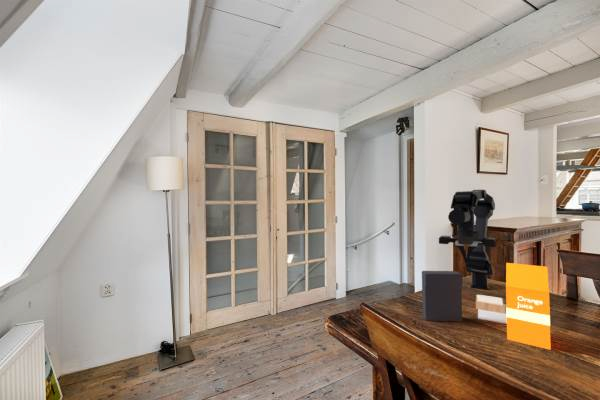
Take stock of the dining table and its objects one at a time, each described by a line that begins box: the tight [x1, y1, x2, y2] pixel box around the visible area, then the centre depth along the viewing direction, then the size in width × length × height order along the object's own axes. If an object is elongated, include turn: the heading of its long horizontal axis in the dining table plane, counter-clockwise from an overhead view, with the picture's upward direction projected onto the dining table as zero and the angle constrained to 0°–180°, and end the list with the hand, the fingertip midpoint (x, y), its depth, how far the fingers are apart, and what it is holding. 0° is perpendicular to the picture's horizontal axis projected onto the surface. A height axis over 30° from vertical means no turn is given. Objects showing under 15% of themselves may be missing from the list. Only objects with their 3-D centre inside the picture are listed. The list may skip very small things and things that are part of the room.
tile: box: [475, 294, 505, 314], centre depth 95 cm, size 8×3×8 cm
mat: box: [477, 303, 507, 325], centre depth 90 cm, size 18×16×1 cm
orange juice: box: [505, 262, 552, 351], centre depth 74 cm, size 8×9×20 cm
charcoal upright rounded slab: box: [421, 270, 463, 322], centre depth 88 cm, size 11×4×15 cm, turn 84°
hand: (466, 263), depth 108 cm, fingers closed
